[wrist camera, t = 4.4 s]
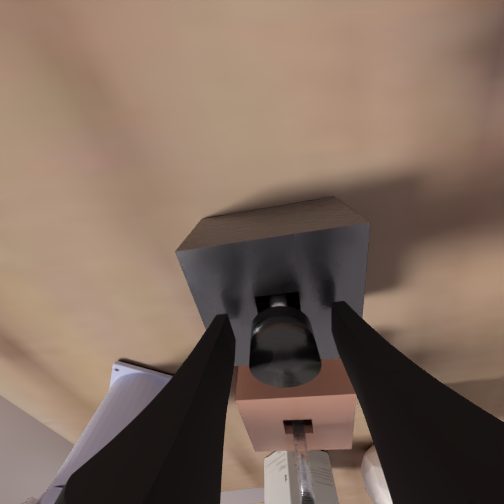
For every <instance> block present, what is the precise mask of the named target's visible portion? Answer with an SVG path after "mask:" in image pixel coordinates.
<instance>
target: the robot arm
mask: <svg viewBox="0 0 504 504" xmlns="http://www.w3.org/2000/svg"><path fill="white" fill-rule="evenodd" d="M331 331H332V334H333V338H334V341H335V344H336V348H337V351H338V353H339V356H340V358H341V360H342V363H343V365H344V367H345V370H346V372H347V374H348V377H349V379H350V381H351V384H352V386H353V388H354V391H355V393H356V395H357V398H358V400H359V403H360V405H361V408H362V410H363V413H364V416H365V419H366V422H367V425H368V428H369V431H370V434H371V437H372V440H373V443H374V446H375V449H376V452H377V455H378V458H379V461H380V464H381V467H382V470H383V474H384V477H385V480H386V483H387V486H388V490H389V493H390V496H391V499H392V503H393V504H504V422H503V421H501V420H499V419H498V418H496V417H494V416H493V415H491V414H489V413H488V412H486V411H484V410H483V409H481V408H480V407H478V406H476V405H475V404H473V403H472V402H470V401H469V400H467V399H466V398H464V397H463V396H461V395H459V394H458V393H456V392H455V391H453V390H452V389H450V388H449V387H447V386H446V385H444V384H443V383H441V382H440V381H438V380H437V379H436V378H434V377H433V376H431V375H430V374H428V373H427V372H426V371H424V370H423V369H422V368H420V367H419V366H418V365H416V364H415V363H414V362H412V361H411V360H410V359H408V358H407V357H406V356H405V355H403V354H402V353H401V352H400V351H398V350H397V349H396V348H395V347H394V346H392V345H391V344H390V343H389V342H388V341H386V340H385V339H384V338H383V337H382V336H381V335H380V334H378V333H377V332H376V331H375V330H374V329H373V328H372V327H371V326H370V325H369V324H367V323H366V322H365V321H364V320H363V319H362V318H361V317H360V316H359V315H358V314H357V313H356V312H355V311H354V310H353V309H352V308H351V307H350V306H349V305H348V304H347V303H346V302H345V301H337V302H331ZM235 349H236V339H235V336H234V332H233V329H232V326H231V323H230V320H229V317H228V313H227V314H218V315H216V316H215V317H214V319H213V320H212V322H211V324H210V325H209V327H208V328H207V330H206V331H205V333H204V334H203V336H202V338H201V339H200V341H199V342H198V343H197V345H196V346H195V348H194V349H193V351H192V352H191V354H190V355H189V356H188V358H187V359H186V360H185V362H184V363H183V364H182V366H181V367H180V368H179V370H178V371H177V372H176V373H175V375H174V376H171V375H167V374H164V373H160V372H156V371H153V370H149V369H146V368H142V367H138V366H135V365H131V364H128V363H124V362H120V361H116V362H115V363H114V364H113V368H112V374H111V381H110V388H109V391H108V393H107V394H106V396H105V398H104V399H103V401H102V402H101V404H100V406H99V407H98V409H97V410H96V412H95V414H94V415H93V417H92V419H91V420H90V422H89V423H88V425H87V427H86V428H85V430H84V431H83V433H82V435H81V436H80V438H79V439H78V441H77V443H76V444H75V446H74V447H73V449H72V451H71V453H70V454H69V456H68V457H67V459H66V460H65V462H64V464H63V465H62V467H61V468H60V470H59V472H58V473H57V475H56V477H55V478H54V480H53V481H52V483H51V484H50V486H49V488H48V489H47V491H46V492H45V493H44V494H42V495H41V496H40V497H39V498H38V499H36V498H34V497H31V498H29V499H28V500H27V501H26V502H25V503H22V504H220V494H221V476H222V460H223V445H224V433H225V420H226V412H227V405H228V399H229V393H230V387H231V381H232V375H233V368H234V362H235Z"/></svg>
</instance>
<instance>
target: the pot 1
mask: <svg viewBox="0 0 504 504" xmlns="http://www.w3.org/2000/svg"><path fill="white" fill-rule="evenodd" d="M369 234H370V222H369V221H368V220H366V219H365V218H364V217H362V216H361V215H359V214H358V213H357V212H355V211H354V210H352V209H351V208H349V207H348V206H347V205H345V204H344V203H342V202H341V201H340V200H338V199H337V198H335V197H329V198H323V199H317V200H311V201H305V202H299V203H293V204H287V205H281V206H275V207H269V208H263V209H257V210H251V211H245V212H239V213H233V214H227V215H222V216H216V217H210V218H204V219H201V220H200V222H199V223H198V224H197V225H196V227H195V228H194V229H193V230H192V231H191V233H190V234H189V235H188V236H187V238H186V239H185V240H184V241H183V243H182V244H181V245H180V246H179V247H178V249H177V250H176V251H175V253H176V255H177V258H178V260H179V263H180V265H181V268H182V270H183V273H184V275H185V278H186V280H187V283H188V286H189V288H190V291H191V293H192V296H193V298H194V301H195V303H196V306H197V308H198V311H199V313H200V316H201V318H202V321H203V323H204V326H205V328H206V330H207V328H208V327H209V325H210V324H211V322H212V320H213V319H214V317H215V316H216V315H218V314H227V313H228V317H229V320H230V323H231V326H232V329H233V332H234V336H235V339H236V349H235V362H234V366H245V365H249V356H250V338H251V324H252V321H253V319H254V318H255V317H256V315H257V314H259V313H260V312H261V311H263V310H265V309H267V308H270V302H269V303H260V304H257V300H256V297H257V296H265V295H274V294H283V293H291V292H298V296H299V299H296V300H287V306H289V307H293V308H296V309H298V310H300V311H302V312H303V313H304V314H306V315H307V317H308V318H309V320H310V322H311V326H312V329H313V333H314V337H315V340H316V344H317V347H318V351H319V355H320V358H321V360H323V359H336V358H340V356H339V353H338V351H337V348H336V344H335V341H334V338H333V334H332V331H331V302H337V301H345V302H346V303H347V304H348V305H349V306H350V307H351V308H352V309H353V310H354V311H355V312H356V313H357V314H358V315H359V316H360V317H361V318H362V315H363V304H364V292H365V280H366V269H367V257H368V245H369Z"/></svg>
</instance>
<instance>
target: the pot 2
mask: <svg viewBox="0 0 504 504" xmlns="http://www.w3.org/2000/svg"><path fill="white" fill-rule="evenodd" d="M321 363H322V367H321V370H320V372H319V374H318V375H317V376H316V377H315V378H314V379H313V380H311V381H310V382H308V383H306V384H303V385H300V386H296V387H289V388H281V387H274V386H270V385H267V384H264V383H262V382H260V381H259V380H257V379H256V378H255V377H254V376H253V375H252V373H251V372H250V369H249V365H245V366H238V376H237V386H236V395H235V402H236V405H237V407H238V410H239V412H240V415H241V417H242V420H243V422H244V425H245V427H246V430H247V432H248V435H249V437H250V440H251V442H252V445H253V447H254V450H255V452H256V451H295V447H294V438H293V429H292V420H303V422H304V428H305V435H306V441H307V448H308V450H335V449H352V439H353V428H354V416H355V405H356V393H355V391H354V388H353V386H352V384H351V381H350V379H349V377H348V374H347V372H346V370H345V367H344V365H343V363H342V360H341V358H336V359H323V360H321Z"/></svg>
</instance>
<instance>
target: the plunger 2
mask: <svg viewBox="0 0 504 504" xmlns="http://www.w3.org/2000/svg"><path fill="white" fill-rule="evenodd" d="M292 429H293V438H294V447H295V456H296V465H297V474H298V483H299V492H300V502H301V504H316V500H315V494H314V487H313V481H312V474H311V467H310V461H309V454H308V448H307V441H306V435H305V428H304V422H303V420H292Z"/></svg>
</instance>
